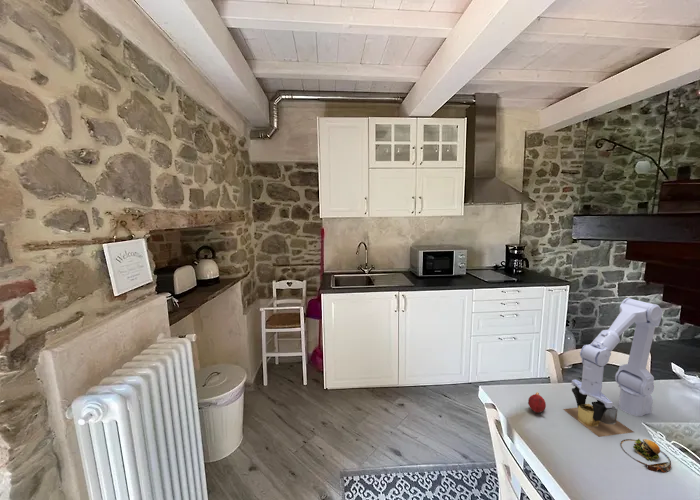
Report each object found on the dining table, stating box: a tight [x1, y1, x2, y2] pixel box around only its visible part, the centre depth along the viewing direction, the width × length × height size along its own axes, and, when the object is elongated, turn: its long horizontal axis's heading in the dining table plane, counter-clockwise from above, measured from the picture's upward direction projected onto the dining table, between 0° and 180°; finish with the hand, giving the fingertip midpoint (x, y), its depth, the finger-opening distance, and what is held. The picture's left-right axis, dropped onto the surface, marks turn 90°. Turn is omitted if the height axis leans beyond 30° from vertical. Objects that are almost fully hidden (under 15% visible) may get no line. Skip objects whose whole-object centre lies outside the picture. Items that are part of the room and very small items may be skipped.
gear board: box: [562, 407, 634, 438], centre depth 115 cm, size 14×15×4 cm
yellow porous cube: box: [578, 403, 599, 426], centre depth 114 cm, size 5×5×5 cm
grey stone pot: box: [600, 405, 618, 424], centre depth 115 cm, size 5×5×5 cm
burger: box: [620, 438, 672, 473], centre depth 99 cm, size 12×12×8 cm
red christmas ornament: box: [527, 392, 547, 414], centre depth 121 cm, size 6×6×8 cm
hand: (588, 414), depth 114 cm, fingers open, 6 cm apart
